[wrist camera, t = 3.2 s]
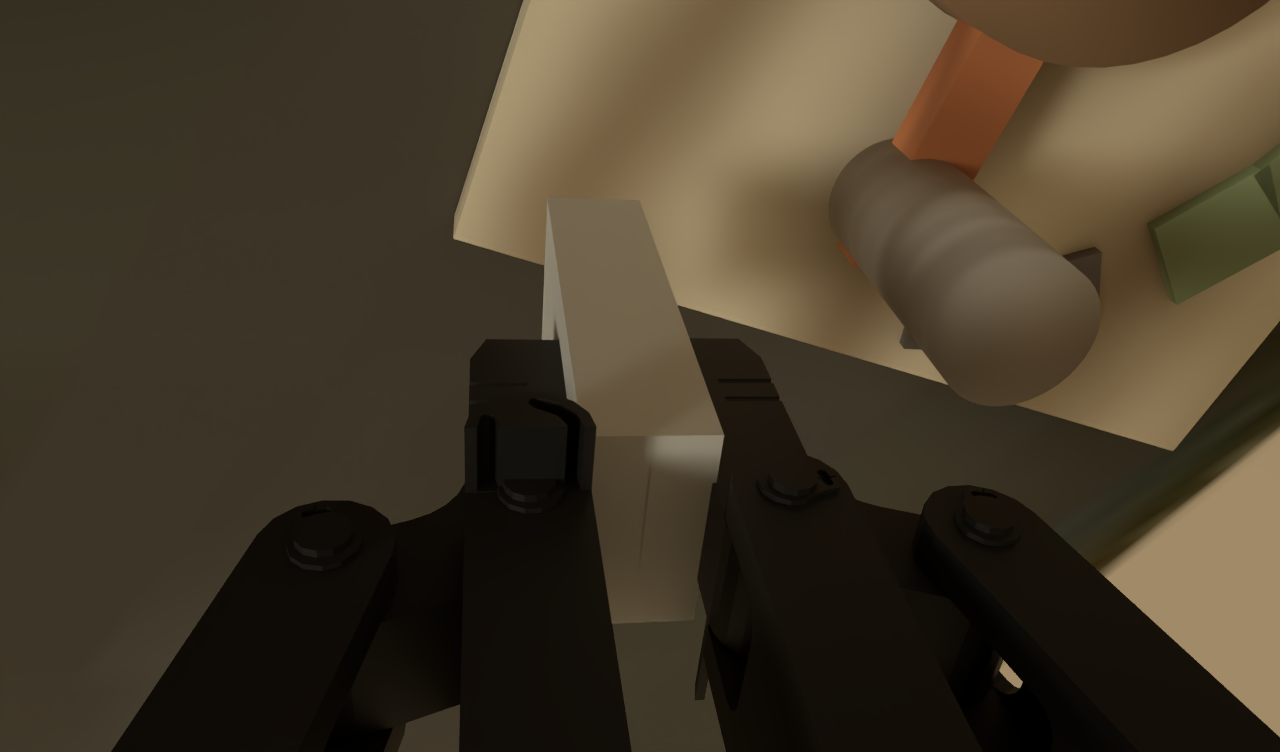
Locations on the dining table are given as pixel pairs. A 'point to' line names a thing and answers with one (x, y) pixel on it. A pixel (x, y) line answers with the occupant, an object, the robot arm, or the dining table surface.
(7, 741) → the dining table surface
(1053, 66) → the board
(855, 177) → the dial
